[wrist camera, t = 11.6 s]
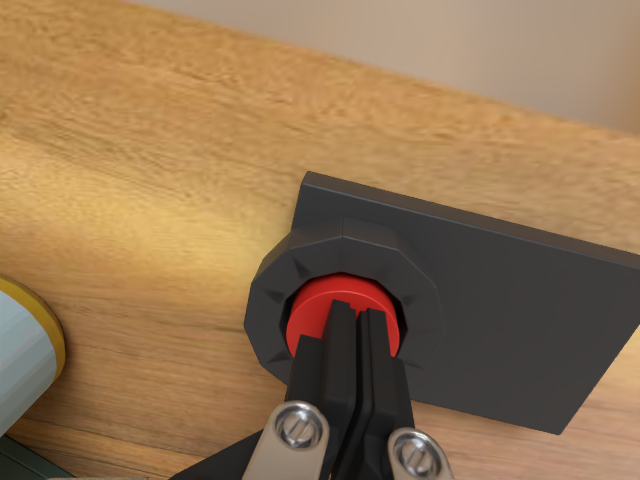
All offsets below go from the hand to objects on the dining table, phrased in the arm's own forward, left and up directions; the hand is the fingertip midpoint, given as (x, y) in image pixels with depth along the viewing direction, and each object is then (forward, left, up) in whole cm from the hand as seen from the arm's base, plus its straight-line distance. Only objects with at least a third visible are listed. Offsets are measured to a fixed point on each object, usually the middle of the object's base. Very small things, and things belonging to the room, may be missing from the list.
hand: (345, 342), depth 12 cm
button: (0, 0, -2) cm, 2 cm away
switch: (+3, +2, -4) cm, 6 cm away
